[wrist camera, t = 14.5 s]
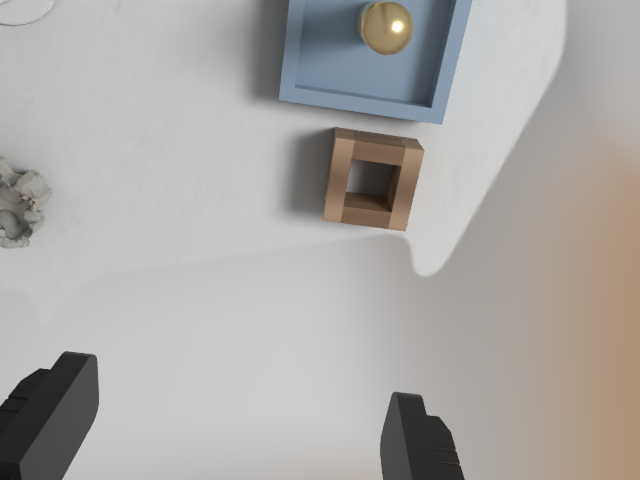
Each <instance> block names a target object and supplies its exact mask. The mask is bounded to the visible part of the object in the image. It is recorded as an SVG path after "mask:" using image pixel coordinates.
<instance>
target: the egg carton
mask: <svg viewBox="0 0 640 480" xmlns="http://www.w3.org/2000/svg"><path fill="white" fill-rule="evenodd" d="M51 194H52V190H51V189H50V188H49V187H48V186H46V184H45V183H44V181H43V178H42V176H41V174H39V173H38V172H36V171H32V170H31V171H29V172H26V173H25V174H24V175H22V174H18V173H15V172H14V171H13V170H12V169H11V168H10V167H9V165H8V163H7V160H6V158H3V157H0V246H1V247H4V248H20V247H27V246H28V245H29V240H28V238H30V237H31V235H32V234H34V233H35V232H36V231H37V230H38V229H39V228H40V227H42V225H43V222H44V220H45V217H44V216H42V215H41V214H42V211H39V210H38V207H39V206H41V205H42V204H43V203H44V202H46V201H47V200H48V199H49V198H50V197H51Z"/></svg>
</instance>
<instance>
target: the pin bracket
mask: <svg viewBox="0 0 640 480" xmlns="http://www.w3.org/2000/svg"><path fill="white" fill-rule="evenodd" d="M423 154H424V149H423V148H422V146H421V145H420V143H419V142H418V140H417V139H412V138H405V137H398V136H391V135H384V134H378V133H371V132H364V131H357V130H350V129H344V128H337V127H335V132H334V138H333V144H332V151H331V157H330V164H329V170H328V176H327V183H326V189H325V195H324V202H323V220H325V221H333V222H340V223H347V224H355V225H362V226H369V227H377V228H384V229H391V230H398V231H406V227H407V222H408V218H409V214H410V209H411V205H412V201H413V197H414V192H415V188H416V184H417V180H418V175H419V171H420V167H421V163H422V158H423ZM351 159H357V160H364V161H371V162H378V163H385V164H391V165H394V166H393V171H392V175H391V180H390V185H389V189H388V194H387V197H379V196H372V195H365V194H358V193H351V192H346V188H347V182H348V176H349V171H350V165H351Z"/></svg>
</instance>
